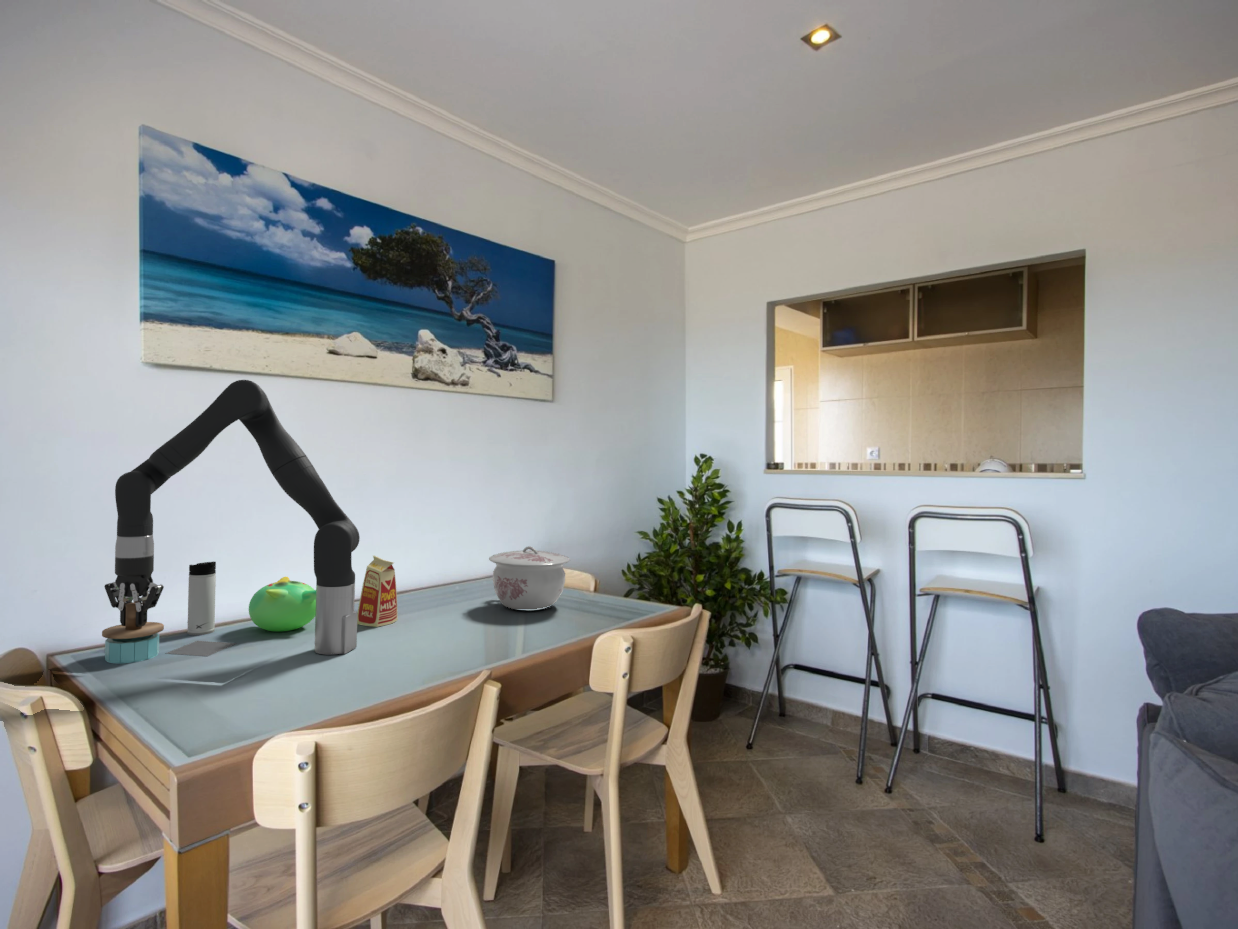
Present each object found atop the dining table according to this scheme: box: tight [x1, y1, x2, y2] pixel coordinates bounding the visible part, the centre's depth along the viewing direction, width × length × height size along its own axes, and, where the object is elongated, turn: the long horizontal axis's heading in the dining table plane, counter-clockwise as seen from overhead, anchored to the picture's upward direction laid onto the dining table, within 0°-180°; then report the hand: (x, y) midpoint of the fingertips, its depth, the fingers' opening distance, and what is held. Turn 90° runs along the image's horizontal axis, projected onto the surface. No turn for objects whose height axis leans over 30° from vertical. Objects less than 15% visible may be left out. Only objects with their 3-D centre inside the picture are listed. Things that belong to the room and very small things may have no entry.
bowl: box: [104, 633, 160, 664], centre depth 160 cm, size 10×10×5 cm
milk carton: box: [357, 555, 399, 628], centre depth 200 cm, size 9×9×20 cm
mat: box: [164, 640, 238, 657], centre depth 168 cm, size 11×11×1 cm
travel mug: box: [187, 561, 217, 636], centre depth 181 cm, size 6×7×20 cm
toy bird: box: [248, 576, 316, 633], centre depth 188 cm, size 18×17×15 cm
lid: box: [101, 601, 165, 639], centre depth 160 cm, size 12×12×7 cm
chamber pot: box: [488, 545, 571, 610], centre depth 226 cm, size 28×28×21 cm
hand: (133, 625), depth 160 cm, fingers closed on lid, 3 cm apart
